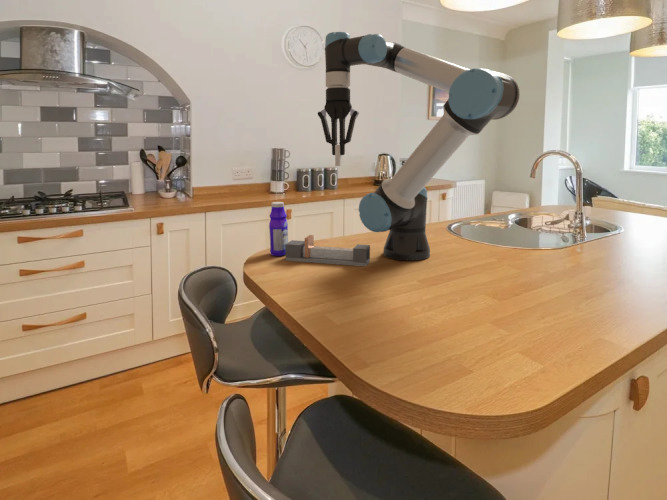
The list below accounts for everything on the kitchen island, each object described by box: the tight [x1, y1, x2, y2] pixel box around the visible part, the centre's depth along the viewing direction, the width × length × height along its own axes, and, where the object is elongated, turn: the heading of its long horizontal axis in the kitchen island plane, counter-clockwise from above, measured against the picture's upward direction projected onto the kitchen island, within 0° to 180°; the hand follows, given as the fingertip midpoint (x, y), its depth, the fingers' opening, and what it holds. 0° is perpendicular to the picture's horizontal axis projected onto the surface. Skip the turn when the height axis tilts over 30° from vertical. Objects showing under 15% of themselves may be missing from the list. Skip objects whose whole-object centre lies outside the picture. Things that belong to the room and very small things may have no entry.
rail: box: [285, 239, 371, 267], centre depth 148 cm, size 26×6×5 cm, turn 74°
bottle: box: [268, 201, 289, 257], centre depth 155 cm, size 7×6×17 cm
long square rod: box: [301, 234, 353, 260], centre depth 148 cm, size 21×5×6 cm, turn 74°
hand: (338, 165), depth 150 cm, fingers closed
